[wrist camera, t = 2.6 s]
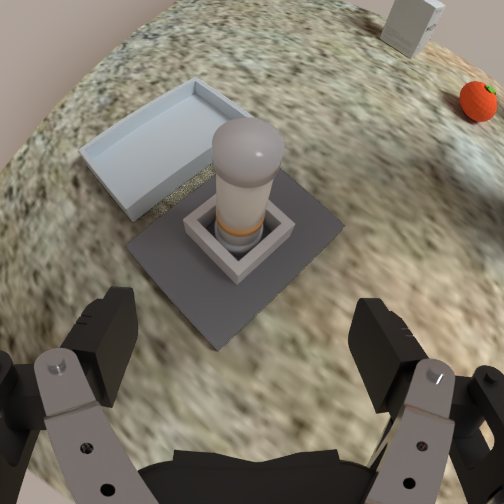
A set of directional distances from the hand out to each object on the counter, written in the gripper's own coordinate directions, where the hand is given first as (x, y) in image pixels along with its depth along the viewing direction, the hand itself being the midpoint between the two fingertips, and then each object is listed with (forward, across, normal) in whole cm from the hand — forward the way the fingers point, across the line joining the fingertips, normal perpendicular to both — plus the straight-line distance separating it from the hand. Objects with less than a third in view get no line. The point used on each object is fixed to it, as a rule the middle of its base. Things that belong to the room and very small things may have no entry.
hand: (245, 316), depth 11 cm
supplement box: (+49, -29, -26) cm, 62 cm away
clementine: (+37, -38, -14) cm, 54 cm away
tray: (+25, +8, -3) cm, 27 cm away
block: (+18, 0, +4) cm, 18 cm away
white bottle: (+17, 0, +3) cm, 18 cm away
